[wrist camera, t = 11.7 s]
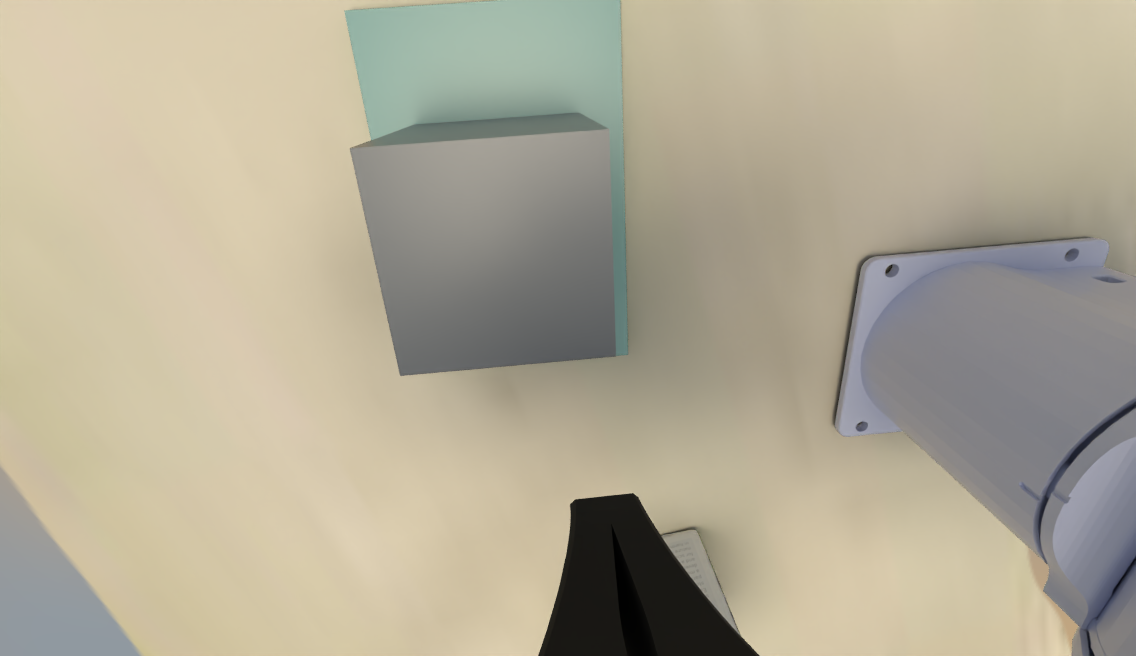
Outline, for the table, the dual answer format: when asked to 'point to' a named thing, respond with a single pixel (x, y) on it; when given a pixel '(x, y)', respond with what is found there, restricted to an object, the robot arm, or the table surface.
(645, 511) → the robot arm
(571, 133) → the dark grey block
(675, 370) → the table surface
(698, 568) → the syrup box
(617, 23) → the teal base stand
